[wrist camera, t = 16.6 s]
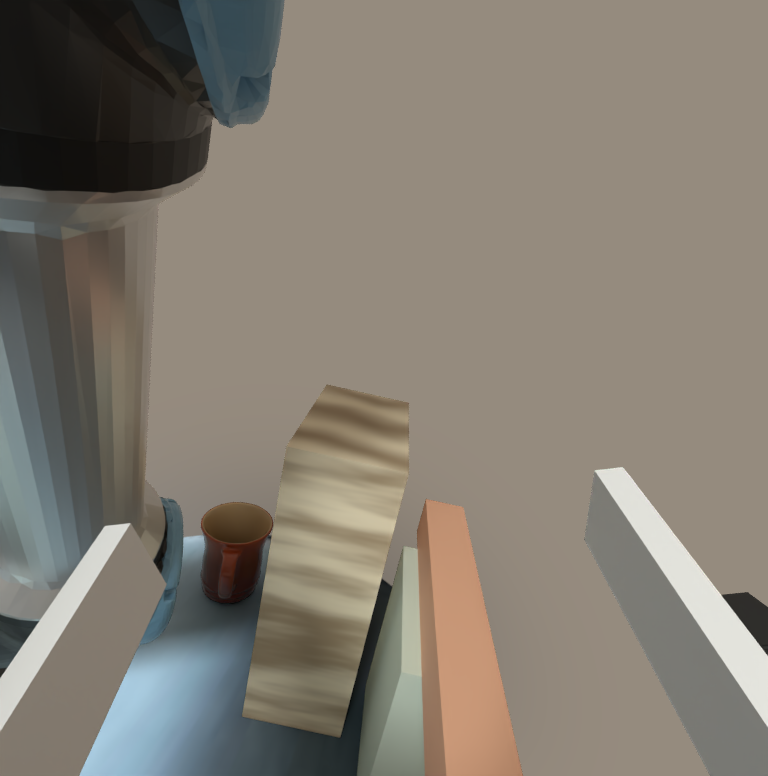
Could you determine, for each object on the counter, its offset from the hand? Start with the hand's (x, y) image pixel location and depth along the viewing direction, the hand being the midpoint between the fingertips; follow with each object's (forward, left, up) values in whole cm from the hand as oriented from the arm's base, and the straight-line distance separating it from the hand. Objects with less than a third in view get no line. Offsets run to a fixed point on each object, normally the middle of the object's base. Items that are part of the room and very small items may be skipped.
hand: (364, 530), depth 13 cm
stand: (-7, +29, -38) cm, 48 cm away
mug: (-20, +32, -39) cm, 54 cm away
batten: (+6, +17, -19) cm, 26 cm away
